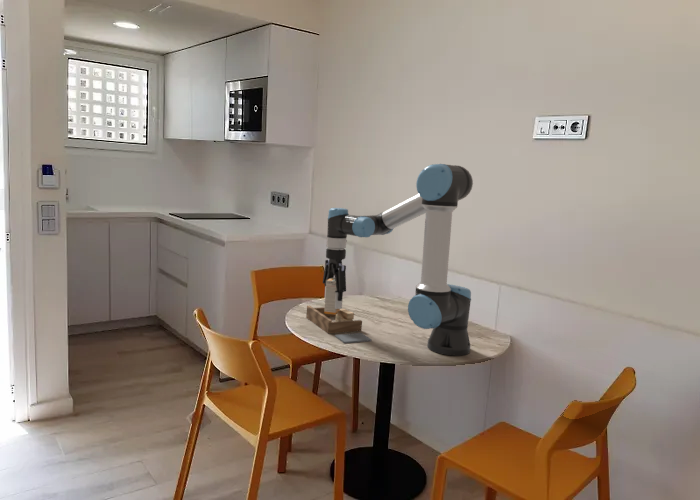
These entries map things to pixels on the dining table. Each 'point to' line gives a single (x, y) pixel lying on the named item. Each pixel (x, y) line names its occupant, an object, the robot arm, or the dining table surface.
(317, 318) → the wooden tray
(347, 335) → the mat
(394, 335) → the dining table surface
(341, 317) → the offcut lower
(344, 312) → the offcut upper
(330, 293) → the supplement box
